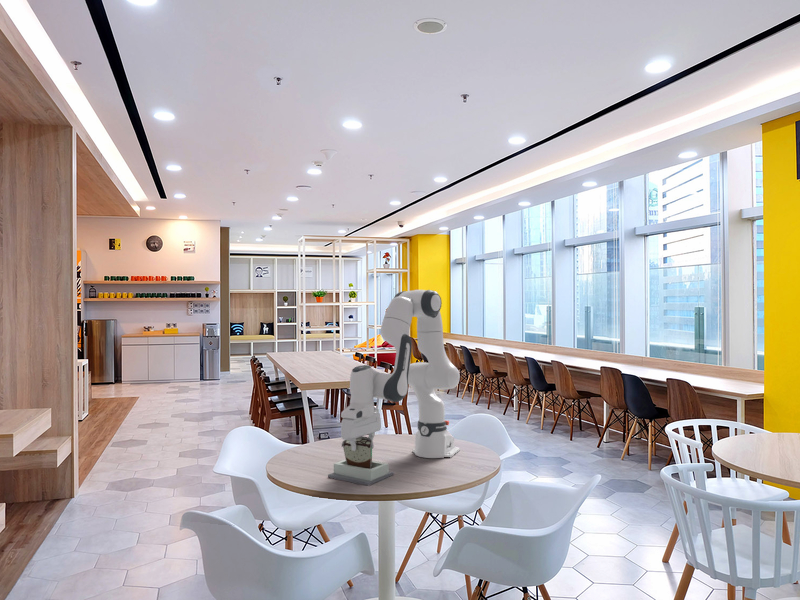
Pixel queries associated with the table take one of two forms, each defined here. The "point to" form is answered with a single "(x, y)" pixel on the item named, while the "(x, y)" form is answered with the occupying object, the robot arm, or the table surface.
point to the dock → (361, 473)
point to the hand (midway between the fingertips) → (362, 447)
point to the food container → (359, 452)
